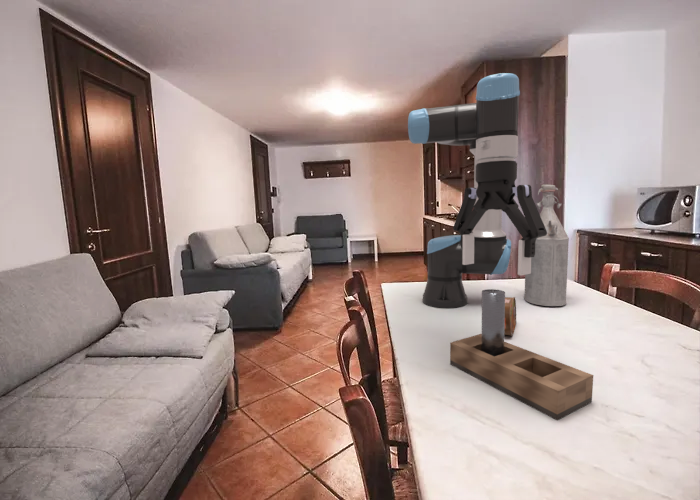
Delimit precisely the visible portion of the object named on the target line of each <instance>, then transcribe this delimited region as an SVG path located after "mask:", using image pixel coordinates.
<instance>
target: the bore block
mask: <svg viewBox="0 0 700 500" xmlns="http://www.w3.org/2000/svg"><path fill="white" fill-rule="evenodd" d="M481 337H482V333H479V334H476V335H471V336H467V337H465V338H461V339H458V340H455V341H451V342H449V343H450V346H449V347H450V350H449V351H450V352H449V354H450V355H449V356H450V357H449V358H450V361H449V365H451V366H453V367H455V368H457V369H458V370H461V371H462V372H464V373H466V374H468V375H470V376H472V377H474V378H476V379H478V380H479V381H480V382H484V383H485V384H487V385H489V386H491V387H493V388H495V389H496V390H498V391H501V392H502V393H504V394H506V395H508V396H509V397H512V398H514V399H515V400H518V401H520V403H521V402H522V403H523V404H524V405H525V404H526V405H527V406H529V407H531V408H532V409H534V410H537V411H539V412H540V413H542V414H544V415H547V417H548V416H549V417H550V418H552V419H553V420H555V421H558V420H560V419H562V418H564V417H566V416H569V415H570V414H572V413H573V412H576V411H577V410H580V409H581V408H583V407H585V406H587V405H590V404H591V403H592V402H593V386H594V385H593V384H594V374H591V373H589V372H586V371H583V370H581V369H578V368H576V367H573V366H570V365H568V364H564V363H562V362H560V361H557V360H554V359H551V358H550V357H546V356H544V355H541V354H539V353H535V352H532V351H530V350H527V349H525V348H522V347H520V346H518V345H515V344H513V343H512V344H511V343H509V342H507V341H504V354H501V355H498V356H495V357H494V356H492V355H490V354H487V353H485V352H483V351H481Z"/></svg>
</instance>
